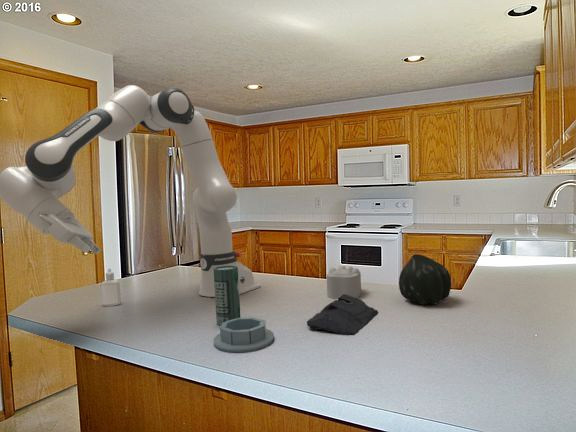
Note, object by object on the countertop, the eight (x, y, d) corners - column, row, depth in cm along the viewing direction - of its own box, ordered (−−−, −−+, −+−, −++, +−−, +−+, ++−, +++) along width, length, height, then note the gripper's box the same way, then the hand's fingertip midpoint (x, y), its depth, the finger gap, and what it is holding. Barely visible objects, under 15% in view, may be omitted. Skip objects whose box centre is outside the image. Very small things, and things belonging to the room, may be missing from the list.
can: (244, 320, 112) (241, 266, 111) (230, 327, 107) (227, 270, 106) (227, 318, 115) (223, 265, 114) (212, 325, 110) (209, 269, 109)
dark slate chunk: (296, 331, 103) (295, 312, 103) (330, 307, 122) (329, 291, 122) (355, 339, 96) (354, 319, 95) (381, 312, 115) (380, 295, 115)
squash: (467, 281, 121) (432, 242, 126) (451, 295, 110) (412, 251, 115) (433, 307, 129) (400, 269, 134) (414, 322, 117) (379, 280, 123)
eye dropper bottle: (112, 307, 133) (109, 270, 133) (100, 305, 136) (97, 269, 135) (123, 303, 137) (120, 267, 136) (111, 302, 140) (108, 267, 139)
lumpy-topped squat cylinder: (324, 298, 131) (323, 271, 131) (334, 288, 143) (333, 264, 143) (357, 300, 128) (356, 272, 127) (364, 289, 140) (363, 264, 139)
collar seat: (248, 327, 107) (247, 311, 106) (286, 338, 97) (285, 322, 96) (202, 343, 97) (200, 326, 97) (239, 358, 87) (237, 339, 87)
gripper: (45, 202, 98) (90, 239, 99) (73, 213, 118) (111, 244, 119) (24, 222, 96) (71, 260, 97) (57, 229, 116) (95, 261, 117)
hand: (93, 251), depth 108 cm, fingers open, 8 cm apart
